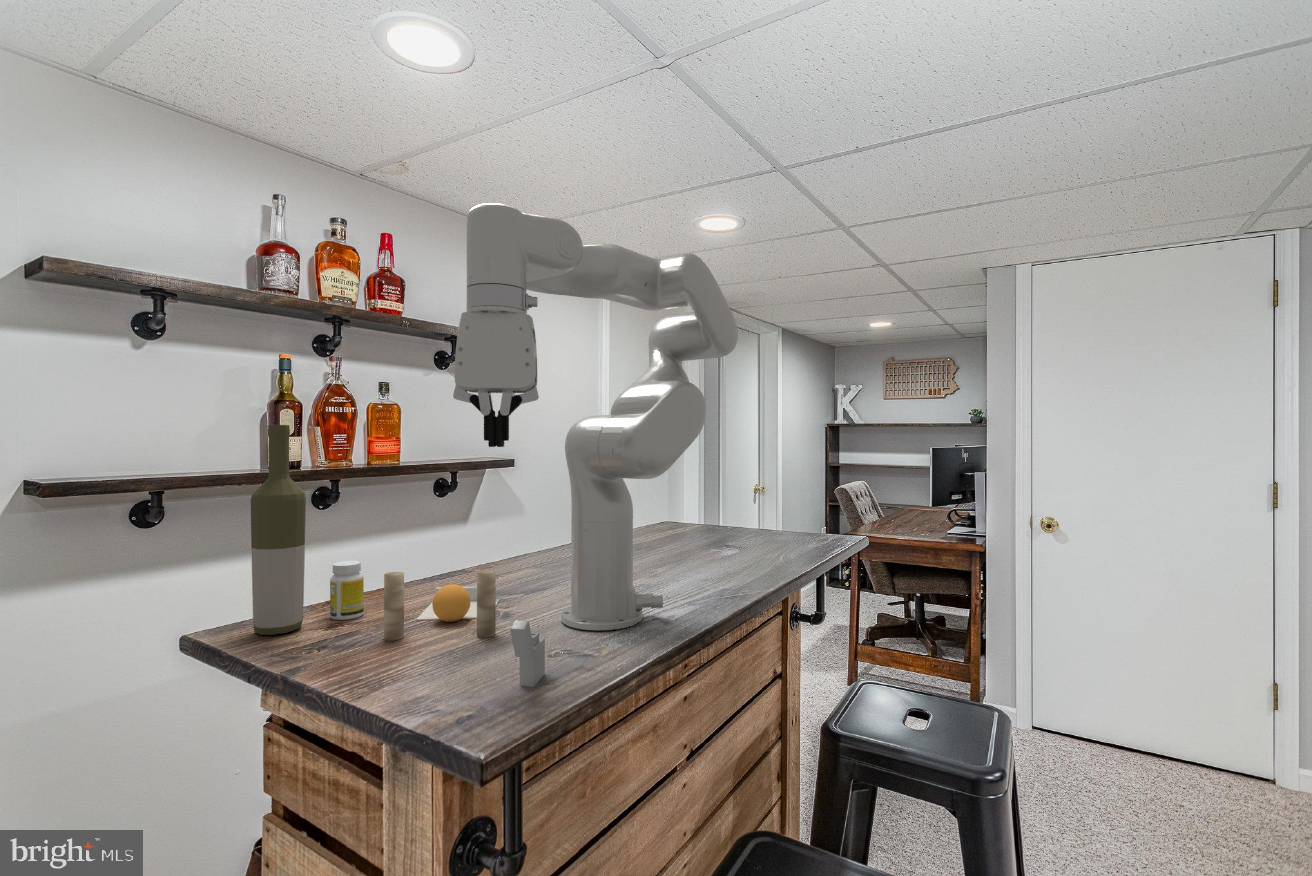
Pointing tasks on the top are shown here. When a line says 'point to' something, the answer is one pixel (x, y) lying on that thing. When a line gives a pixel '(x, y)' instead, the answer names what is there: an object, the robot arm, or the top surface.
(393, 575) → the post
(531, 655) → the lighter
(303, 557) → the bottle
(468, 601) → the ball
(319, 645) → the top surface
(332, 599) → the supplement bottle
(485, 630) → the post
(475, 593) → the stopper rail
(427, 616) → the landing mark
